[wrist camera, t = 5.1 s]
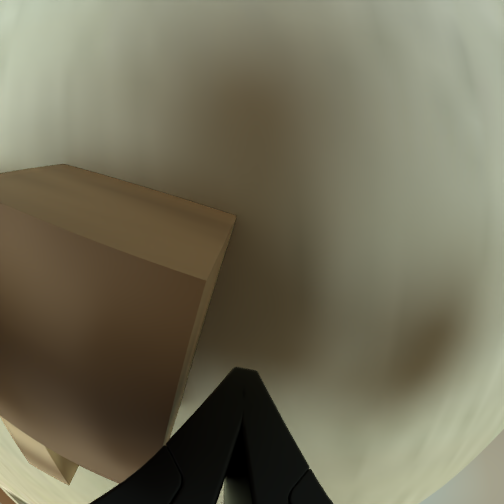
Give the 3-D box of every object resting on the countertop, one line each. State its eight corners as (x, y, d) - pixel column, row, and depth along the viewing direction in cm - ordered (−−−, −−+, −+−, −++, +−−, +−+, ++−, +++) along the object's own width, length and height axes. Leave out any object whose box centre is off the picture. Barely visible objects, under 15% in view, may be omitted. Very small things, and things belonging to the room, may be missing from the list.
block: (180, 404, 11) (152, 495, 6) (55, 351, 10) (0, 415, 6) (237, 216, 8) (206, 280, 4) (63, 163, 8) (-44, 182, 4)
